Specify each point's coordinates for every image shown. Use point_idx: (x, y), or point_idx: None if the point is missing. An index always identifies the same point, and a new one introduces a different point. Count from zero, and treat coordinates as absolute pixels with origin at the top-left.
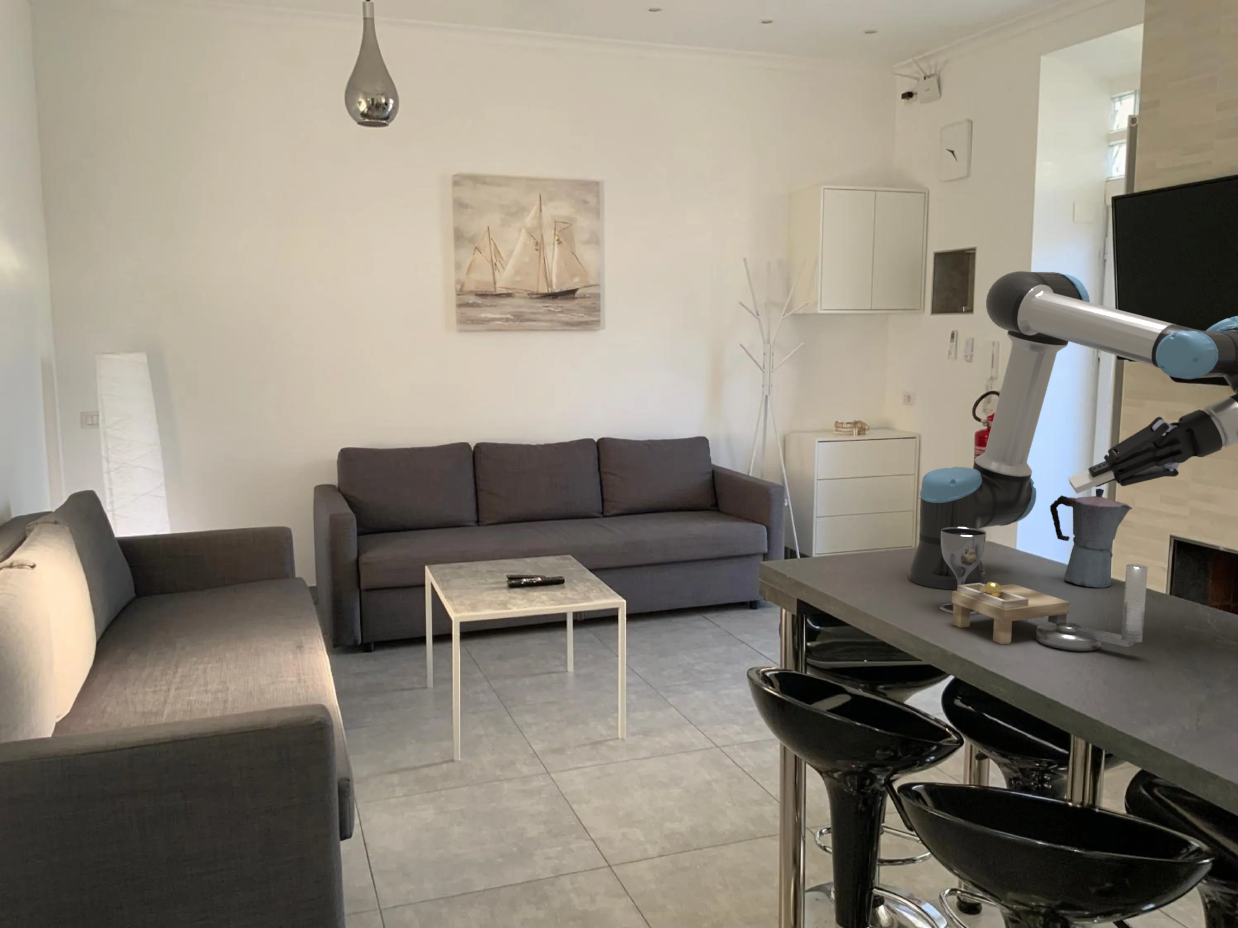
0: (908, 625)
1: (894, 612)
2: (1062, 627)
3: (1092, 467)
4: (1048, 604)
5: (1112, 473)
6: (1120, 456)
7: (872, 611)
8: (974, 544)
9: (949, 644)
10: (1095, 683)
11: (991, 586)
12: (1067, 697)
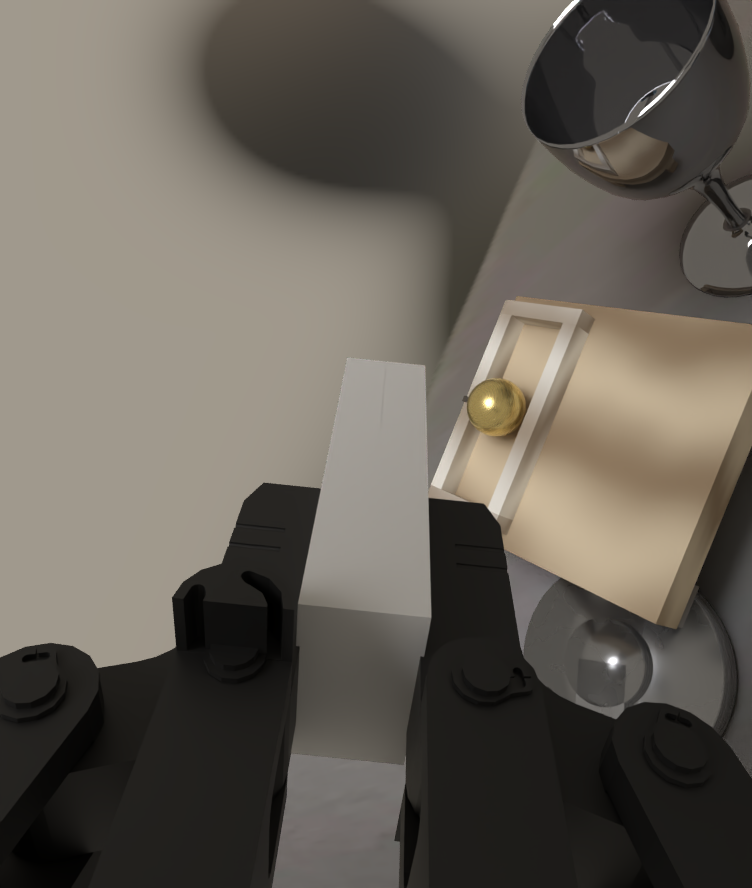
0: (495, 294)
1: (570, 191)
2: (567, 650)
3: (242, 520)
4: (565, 576)
5: (304, 746)
6: (3, 871)
7: (541, 165)
8: (576, 168)
9: (429, 444)
10: (373, 815)
11: (467, 410)
12: (288, 775)
